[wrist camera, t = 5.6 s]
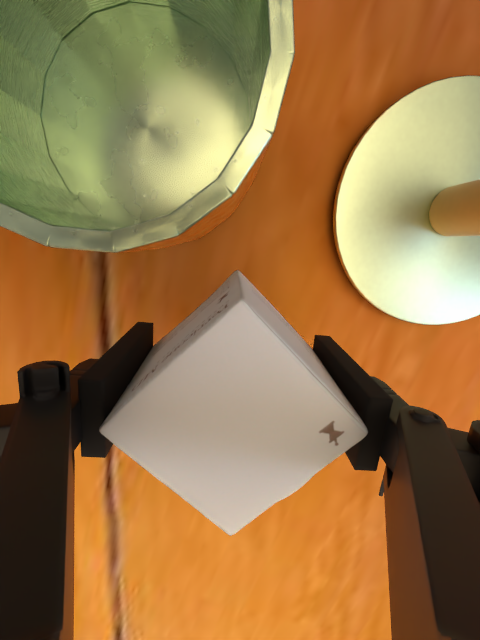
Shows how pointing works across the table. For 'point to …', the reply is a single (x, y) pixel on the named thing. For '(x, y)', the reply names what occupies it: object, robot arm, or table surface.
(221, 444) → the product box
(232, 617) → the table surface
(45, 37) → the tin
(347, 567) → the table surface
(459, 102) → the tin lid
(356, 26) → the table surface
